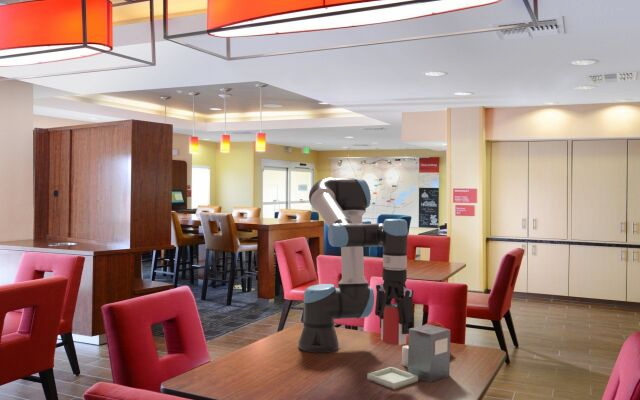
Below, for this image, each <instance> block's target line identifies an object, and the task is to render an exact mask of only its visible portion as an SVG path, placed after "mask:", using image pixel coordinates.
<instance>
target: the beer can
mask: <svg viewBox="0 0 640 400" xmlns="http://www.w3.org/2000/svg"><path fill="white" fill-rule="evenodd" d="M400 322H401V320H400V316H399V311H398V307H397V303H396V302H391V303H390V304H385V308H384V311H383V340H382V341H383V343H384V344H386V345H390V346H400V345H399V323H400Z"/></svg>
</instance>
